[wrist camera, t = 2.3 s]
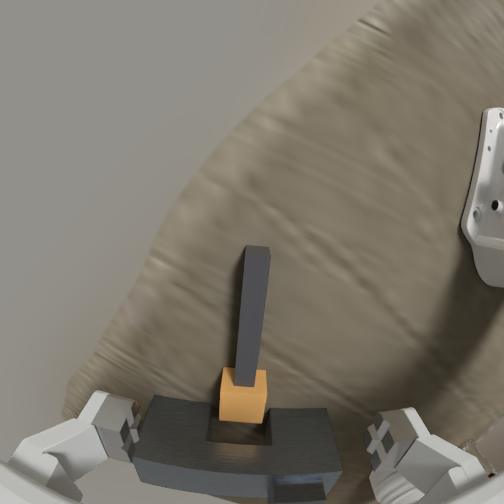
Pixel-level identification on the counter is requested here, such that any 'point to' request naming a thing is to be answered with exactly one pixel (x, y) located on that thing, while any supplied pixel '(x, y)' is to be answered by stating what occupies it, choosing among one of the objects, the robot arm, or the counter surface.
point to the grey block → (238, 454)
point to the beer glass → (478, 457)
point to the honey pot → (393, 488)
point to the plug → (248, 346)
